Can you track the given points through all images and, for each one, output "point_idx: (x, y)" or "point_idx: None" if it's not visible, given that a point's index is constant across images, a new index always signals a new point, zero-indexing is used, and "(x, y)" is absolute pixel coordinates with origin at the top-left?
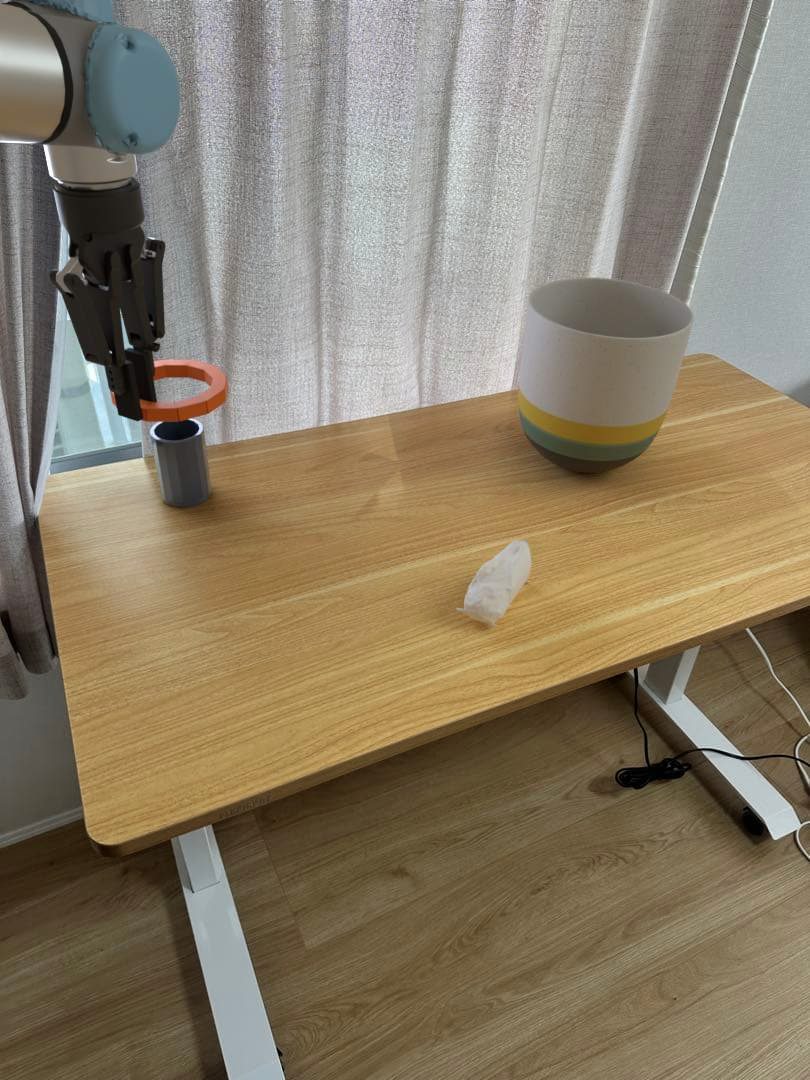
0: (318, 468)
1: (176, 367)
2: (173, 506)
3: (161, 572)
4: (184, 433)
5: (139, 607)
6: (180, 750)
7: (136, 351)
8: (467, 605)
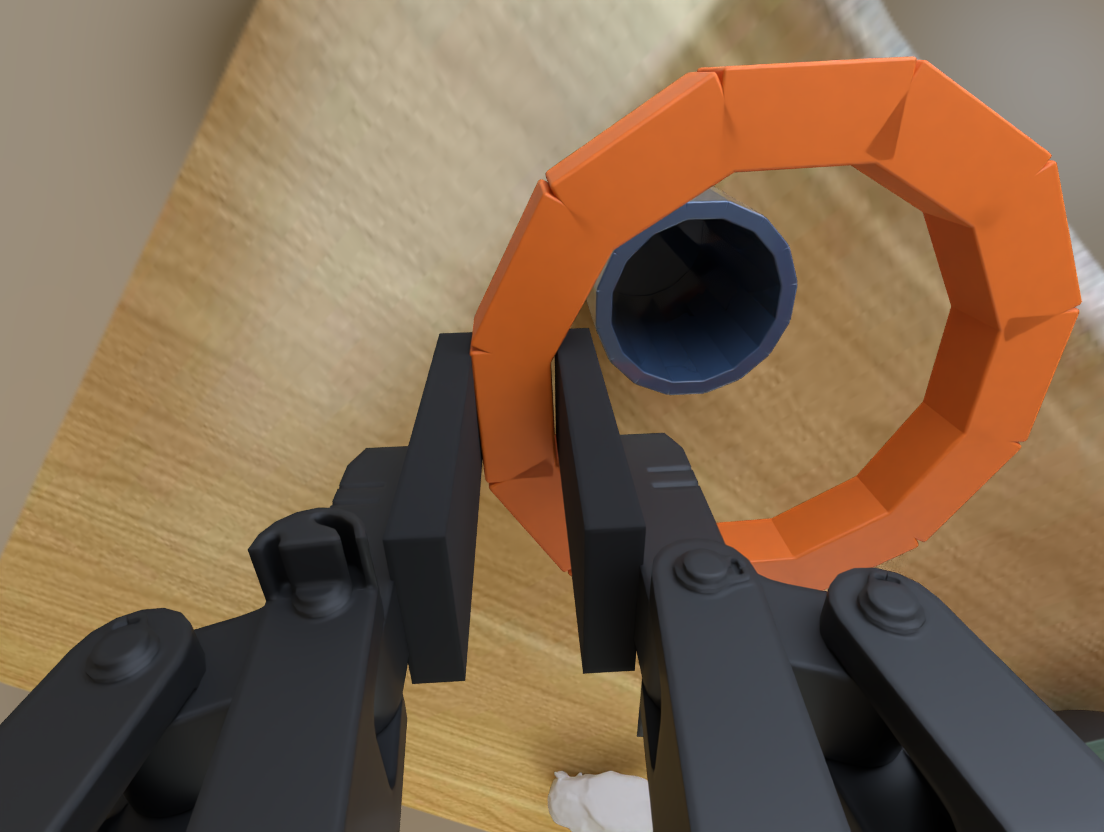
0: (875, 434)
1: (977, 281)
2: None
3: (358, 396)
4: (753, 251)
5: (252, 432)
6: None
7: (614, 604)
8: (551, 802)
